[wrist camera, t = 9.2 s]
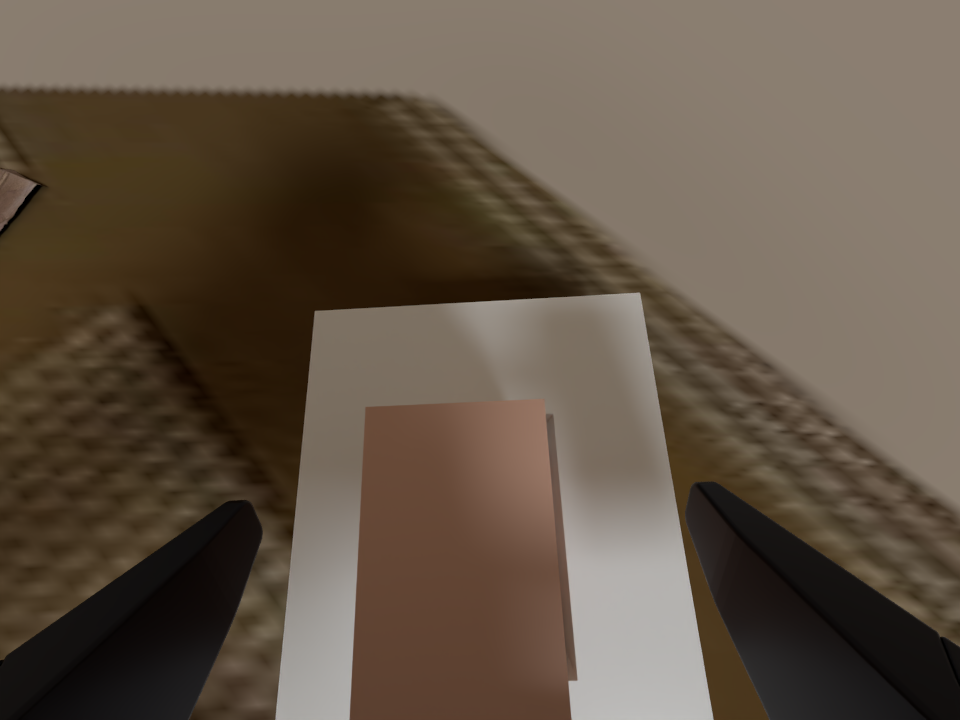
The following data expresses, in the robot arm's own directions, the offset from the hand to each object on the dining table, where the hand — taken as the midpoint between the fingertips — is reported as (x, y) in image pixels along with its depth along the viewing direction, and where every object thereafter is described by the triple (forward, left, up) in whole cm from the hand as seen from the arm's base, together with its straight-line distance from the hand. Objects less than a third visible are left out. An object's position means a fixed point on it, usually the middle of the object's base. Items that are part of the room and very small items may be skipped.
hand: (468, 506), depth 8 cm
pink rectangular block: (-1, 0, -8) cm, 8 cm away
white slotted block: (-1, 0, -9) cm, 9 cm away
